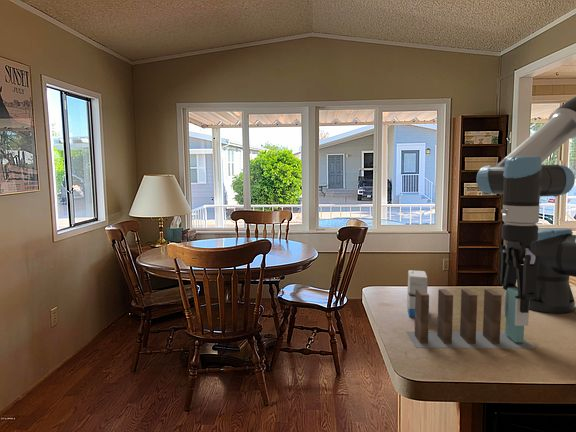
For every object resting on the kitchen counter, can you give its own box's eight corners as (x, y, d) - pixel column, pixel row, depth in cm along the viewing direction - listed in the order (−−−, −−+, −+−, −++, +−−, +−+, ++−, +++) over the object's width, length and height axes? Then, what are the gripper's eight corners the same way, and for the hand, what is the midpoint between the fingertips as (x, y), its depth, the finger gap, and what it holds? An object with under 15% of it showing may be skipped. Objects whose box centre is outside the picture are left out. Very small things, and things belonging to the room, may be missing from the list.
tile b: (490, 335, 108) (492, 289, 107) (499, 343, 103) (501, 295, 102) (482, 335, 108) (484, 289, 107) (491, 343, 103) (493, 295, 102)
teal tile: (512, 334, 108) (514, 287, 107) (523, 342, 103) (525, 293, 102) (505, 334, 108) (507, 287, 107) (515, 342, 103) (517, 293, 102)
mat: (514, 333, 110) (515, 331, 110) (535, 349, 100) (536, 348, 100) (405, 333, 111) (405, 331, 111) (415, 349, 101) (415, 347, 101)
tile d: (444, 335, 109) (446, 289, 107) (451, 343, 103) (453, 295, 102) (437, 335, 109) (438, 289, 107) (443, 343, 103) (445, 295, 102)
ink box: (427, 319, 121) (428, 277, 120) (408, 318, 122) (409, 276, 121) (424, 309, 130) (425, 270, 128) (406, 308, 131) (407, 269, 129)
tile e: (422, 335, 109) (423, 289, 108) (427, 343, 104) (429, 295, 102) (414, 335, 109) (415, 289, 108) (420, 343, 104) (421, 295, 102)
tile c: (467, 335, 108) (469, 289, 107) (475, 343, 103) (477, 295, 102) (459, 335, 108) (461, 289, 107) (467, 343, 103) (469, 295, 102)
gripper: (487, 219, 112) (483, 308, 114) (522, 228, 94) (517, 335, 96) (517, 218, 111) (513, 308, 114) (559, 228, 93) (552, 335, 96)
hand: (515, 320), depth 105 cm, fingers closed on teal tile, 5 cm apart
